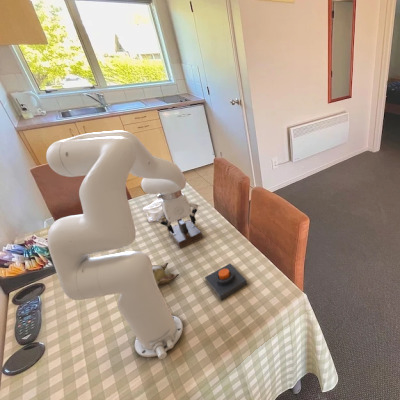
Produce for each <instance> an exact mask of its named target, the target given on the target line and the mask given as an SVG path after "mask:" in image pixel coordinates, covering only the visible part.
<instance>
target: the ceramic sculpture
mask: <svg viewBox="0 0 400 400" xmlns="http://www.w3.org/2000/svg"><path fill="white" fill-rule="evenodd" d="M168 265H169V262H165V263H164V264H162V265H158V264H152V268H153V273H154V277H155V280H156V283H157V285H158V286H160V285H164V284H169V283H171V282H173V281H175V279H176V278H178V277H179V276H180V273H175V274H174V273H166V270H167V267H168Z"/></svg>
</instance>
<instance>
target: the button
mask: <svg viewBox="0 0 400 400" xmlns="http://www.w3.org/2000/svg"><path fill="white" fill-rule="evenodd" d="M218 274H219V278H220V279H222V280H224V279H227V278H228V277H229V276H230V273H229V270H228V269H222V270H220V271H219V273H218Z"/></svg>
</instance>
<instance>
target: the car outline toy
mask: <svg viewBox="0 0 400 400" xmlns="http://www.w3.org/2000/svg"><path fill="white" fill-rule="evenodd" d="M181 192H182V193H183V191H182V190H181ZM142 209H143V212H144V214H145V217H146V219H147V222H150V223H152V222H153V223H154V222H157V221H156V219H157V218H158V217H159V216H160V215H161V214H162V213H163V209H162V205H161V198H159V199H158V198H157V199H156V200H154V201H152V203H150V204H148V205H146V206H144V207H142ZM148 212H149V214H150V216H149V214H148Z"/></svg>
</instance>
